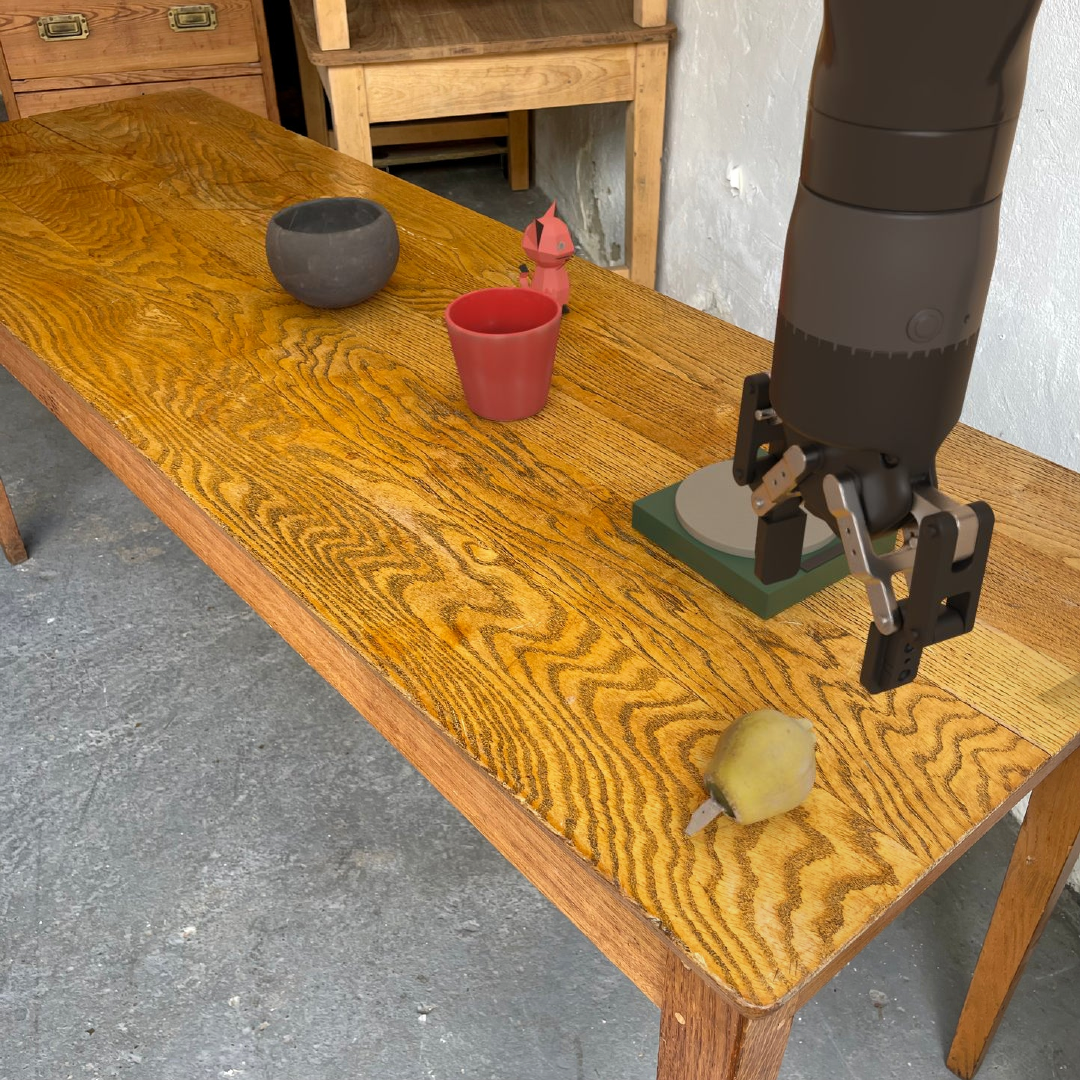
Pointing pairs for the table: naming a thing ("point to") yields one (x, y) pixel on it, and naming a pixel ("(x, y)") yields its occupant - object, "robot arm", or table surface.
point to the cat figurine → (548, 256)
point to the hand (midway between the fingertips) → (826, 627)
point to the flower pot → (504, 349)
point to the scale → (737, 539)
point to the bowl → (332, 250)
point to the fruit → (758, 769)
